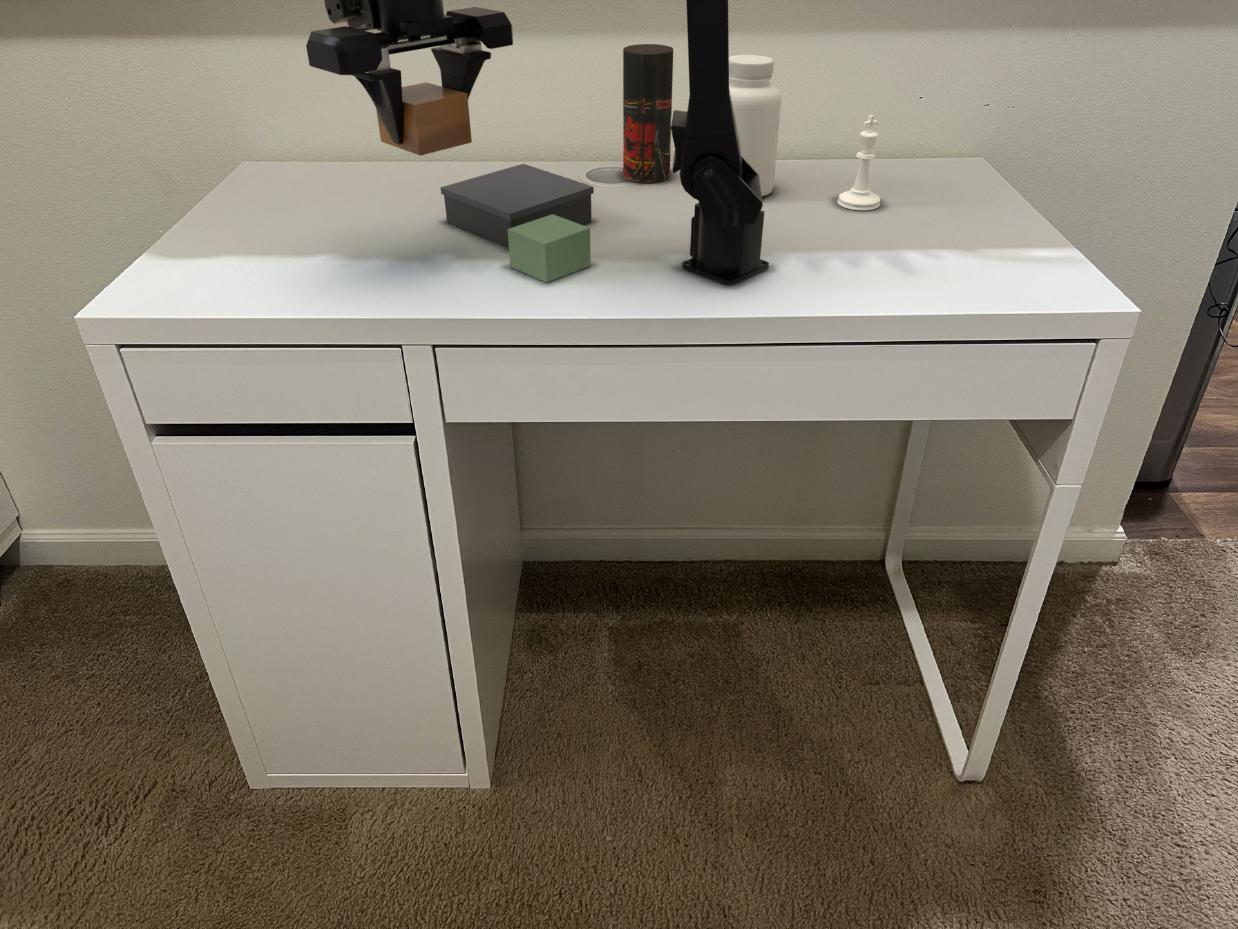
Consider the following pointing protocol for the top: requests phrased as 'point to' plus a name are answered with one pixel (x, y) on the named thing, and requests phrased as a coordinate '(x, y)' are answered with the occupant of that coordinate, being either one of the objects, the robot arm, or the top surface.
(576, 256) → the sage box
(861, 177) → the chess piece
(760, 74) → the pill bottle
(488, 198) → the storage box
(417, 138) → the oak box
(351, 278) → the top surface
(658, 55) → the deodorant
